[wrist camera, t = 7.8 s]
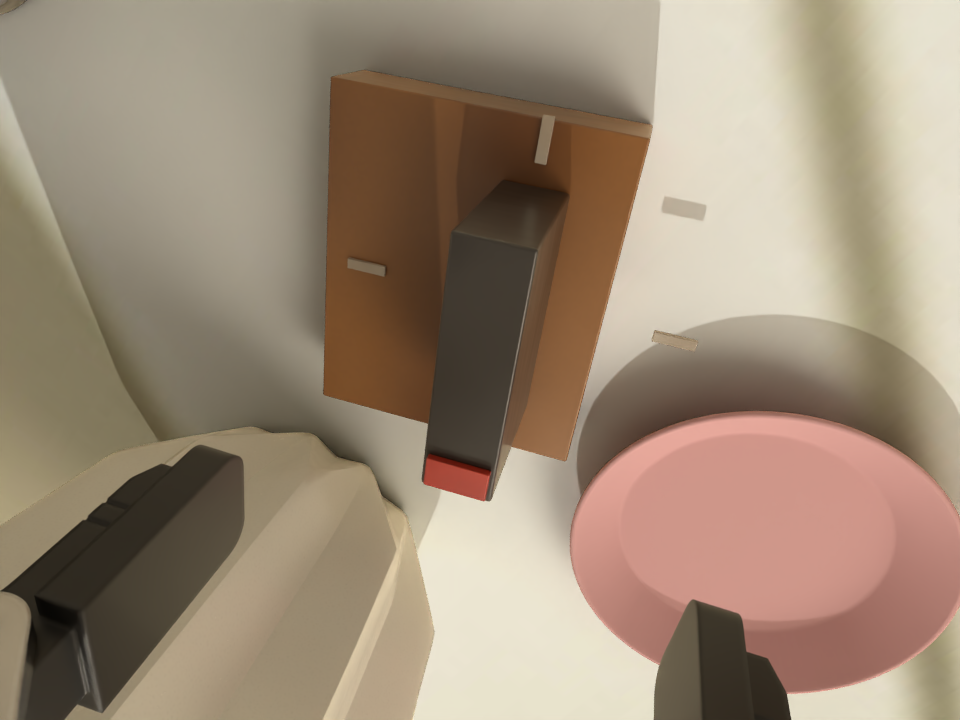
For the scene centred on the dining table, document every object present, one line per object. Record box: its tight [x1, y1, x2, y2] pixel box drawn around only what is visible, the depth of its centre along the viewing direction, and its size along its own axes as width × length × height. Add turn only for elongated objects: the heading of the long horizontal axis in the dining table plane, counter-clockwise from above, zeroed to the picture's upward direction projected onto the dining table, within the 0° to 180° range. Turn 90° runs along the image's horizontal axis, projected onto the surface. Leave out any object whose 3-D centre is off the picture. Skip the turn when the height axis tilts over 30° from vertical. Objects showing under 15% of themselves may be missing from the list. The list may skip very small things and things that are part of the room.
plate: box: [570, 411, 960, 694], centre depth 27 cm, size 14×14×2 cm
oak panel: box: [323, 70, 698, 461], centre depth 24 cm, size 13×12×3 cm
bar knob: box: [422, 180, 570, 501], centre depth 20 cm, size 8×2×6 cm, turn 172°
